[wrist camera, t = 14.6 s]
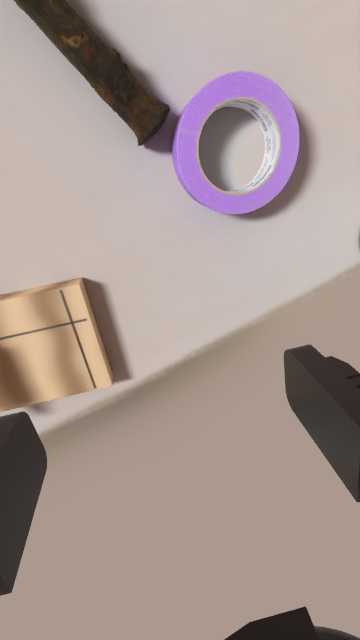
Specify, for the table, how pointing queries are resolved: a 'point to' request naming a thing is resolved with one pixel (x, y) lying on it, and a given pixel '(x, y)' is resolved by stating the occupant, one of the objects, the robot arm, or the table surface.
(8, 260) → the table surface
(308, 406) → the robot arm
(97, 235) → the table surface
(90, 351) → the oak board
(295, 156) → the masking tape
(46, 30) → the hand tool
